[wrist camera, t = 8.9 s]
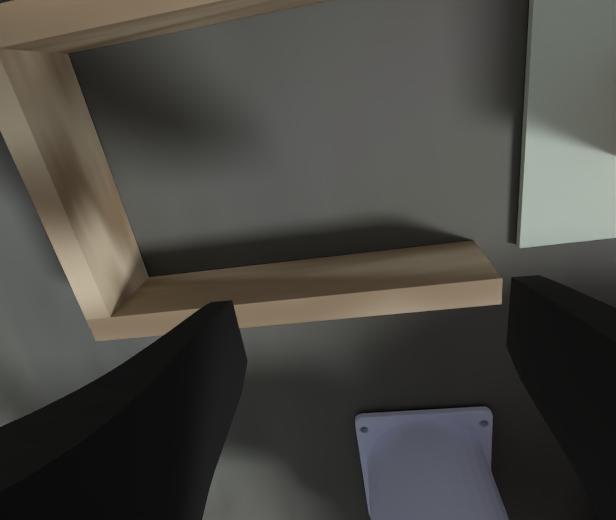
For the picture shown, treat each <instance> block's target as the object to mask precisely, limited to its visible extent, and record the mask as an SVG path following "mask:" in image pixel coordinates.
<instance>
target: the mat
mask: <svg viewBox="0 0 616 520" xmlns="http://www.w3.org/2000/svg"><path fill="white" fill-rule="evenodd" d="M609 238H616V0H529V18H528V37H527V56H526V74H525V93H524V111H523V130H522V148H521V167H520V186H519V204H518V223H517V241H516V245H517V246H518V247H519V248H526V247H535V246H544V245H554V244H563V243H572V242H581V241H590V240H599V239H609Z"/></svg>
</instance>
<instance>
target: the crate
mask: <svg viewBox="0 0 616 520" xmlns="http://www.w3.org/2000/svg"><path fill="white" fill-rule="evenodd" d="M324 1H329V0H13V1H9V2H5V3H0V131H1V133H2V136H3V138H4V140H5V142H6V144H7V147H8V149H9V151H10V153H11V155H12V158H13V160H14V162H15V164H16V166H17V169H18V171H19V173H20V175H21V177H22V180H23V182H24V184H25V186H26V188H27V191H28V193H29V195H30V197H31V199H32V202H33V204H34V206H35V208H36V210H37V213H38V215H39V217H40V219H41V221H42V224H43V226H44V228H45V230H46V232H47V235H48V237H49V239H50V241H51V243H52V246H53V248H54V250H55V252H56V254H57V257H58V259H59V261H60V263H61V265H62V268H63V270H64V272H65V274H66V276H67V279H68V281H69V283H70V285H71V287H72V290H73V292H74V294H75V296H76V298H77V301H78V303H79V305H80V307H81V309H82V312H83V314H84V316H85V318H86V320H87V323H88V325H89V327H90V329H91V331H92V334H93V336H94V338H95V340H96V341H104V340H114V339H125V338H136V337H147V336H158V335H165V334H166V333H167V332H169V331H170V330H171V329H173V328H174V327H176V326H177V325H178V324H180V323H181V322H182V321H184V320H185V319H186V318H188V317H189V316H190V315H192V314H193V313H195V312H196V311H197V310H199V309H200V308H202V307H203V306H205V305H206V304H208V303H210V302H216V301H228V300H232V301H233V305H234V309H235V313H236V317H237V321H238V325H239V328H246V327H257V326H268V325H279V324H290V323H301V322H312V321H323V320H334V319H345V318H356V317H366V316H377V315H388V314H399V313H410V312H421V311H432V310H443V309H454V308H465V307H476V306H487V305H498V304H502V283H503V278H502V277H501V275H500V274H499V273H498V271H497V270H496V269H495V268H494V266H493V265H492V264H491V262H490V261H489V260H488V259H487V257H486V256H485V255H484V253H483V252H482V251H481V250H480V248H479V247H478V246H477V244H476V243H475V242H474V241H473V240H472V241H463V242H454V243H446V244H437V245H428V246H419V247H410V248H402V249H393V250H384V251H375V252H366V253H358V254H349V255H340V256H331V257H322V258H314V259H305V260H296V261H287V262H278V263H270V264H261V265H252V266H243V267H234V268H226V269H217V270H208V271H199V272H190V273H182V274H173V275H164V276H155V277H149V276H148V274H147V271H146V268H145V265H144V263H143V260H142V257H141V254H140V252H139V249H138V246H137V243H136V240H135V238H134V235H133V232H132V229H131V227H130V224H129V221H128V218H127V216H126V213H125V210H124V207H123V204H122V202H121V199H120V196H119V193H118V191H117V188H116V185H115V182H114V180H113V177H112V174H111V171H110V169H109V166H108V163H107V160H106V157H105V155H104V152H103V149H102V146H101V144H100V141H99V138H98V135H97V133H96V130H95V127H94V124H93V122H92V119H91V116H90V113H89V110H88V108H87V105H86V102H85V99H84V97H83V94H82V91H81V88H80V86H79V83H78V80H77V77H76V74H75V72H74V69H73V66H72V63H71V61H70V58H69V55H68V54H70V53H75V52H80V51H84V50H89V49H94V48H99V47H104V46H109V45H114V44H119V43H124V42H129V41H133V40H138V39H143V38H148V37H153V36H158V35H163V34H168V33H173V32H177V31H182V30H187V29H192V28H197V27H202V26H207V25H212V24H217V23H221V22H226V21H231V20H236V19H241V18H246V17H251V16H256V15H261V14H266V13H270V12H275V11H280V10H285V9H290V8H295V7H300V6H305V5H310V4H314V3H319V2H324Z"/></svg>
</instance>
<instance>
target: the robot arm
mask: <svg viewBox="0 0 616 520" xmlns="http://www.w3.org/2000/svg"><path fill="white" fill-rule="evenodd" d="M506 346H507V348H508V351H509V353H510V356H511V358H512V360H513V363H514V365H515V368H516V370H517V372H518V374H519V377H520V379H521V381H522V383H523V384H524V386H525V388H526V390H527V391H528V393H529V395H530V396H531V398H532V400H533V401H534V403H535V405H536V407H537V408H538V410H539V412H540V413H541V415H542V416H543V418H544V420H545V421H546V423H547V425H548V426H549V428H550V430H551V431H552V433H553V435H554V436H555V438H556V440H557V441H558V443H559V445H560V446H561V448H562V450H563V451H564V453H565V455H566V456H567V458H568V460H569V461H570V463H571V465H572V467H573V468H574V470H575V472H576V474H577V476H578V478H579V479H580V481H581V483H582V485H583V487H584V489H585V491H586V494H587V496H588V498H589V500H590V502H591V504H592V506H593V508H594V510H595V512H596V515H597V517H598V519H599V520H616V308H614V307H612V306H610V305H607V304H605V303H603V302H601V301H598V300H596V299H594V298H592V297H589V296H587V295H585V294H583V293H580V292H578V291H576V290H574V289H571V288H569V287H567V286H564V285H562V284H560V283H557V282H555V281H552V280H550V279H547V278H545V277H541V276H538V275H536V276H523V277H512V278H511V291H510V304H509V317H508V331H507V344H506ZM246 366H247V357H246V353H245V349H244V345H243V341H242V337H241V333H240V329H239V325H238V321H237V317H236V313H235V309H234V305H233V301H232V300H228V301H216V302H210V303H208V304H206V305H205V306H203V307H202V308H200V309H199V310H197V311H196V312H195V313H193V314H192V315H190V316H189V317H188V318H186V319H185V320H184V321H182V322H181V323H180V324H178V325H177V326H176V327H174V328H173V329H171V330H170V331H169V332H167V333H166V334H165V335H163V336H162V337H161V338H159V339H158V340H156V341H155V342H154V343H152V344H151V345H149V346H148V347H146V348H145V349H143V350H142V351H140V352H139V353H137V354H136V355H135V356H133V357H132V358H130V359H129V360H127V361H126V362H124V363H123V364H121V365H120V366H118V367H116V368H115V369H113V370H112V371H110V372H108V373H107V374H105V375H103V376H102V377H100V378H98V379H96V380H95V381H93V382H91V383H89V384H88V385H86V386H84V387H82V388H80V389H79V390H77V391H75V392H73V393H71V394H69V395H67V396H65V397H63V398H61V399H59V400H57V401H55V402H53V403H51V404H49V405H47V406H45V407H43V408H41V409H39V410H37V411H35V412H33V413H31V414H29V415H26V416H24V417H22V418H20V419H17V420H15V421H13V422H11V423H8V424H6V425H4V426H1V427H0V520H202V517H203V513H204V509H205V505H206V500H207V496H208V492H209V488H210V485H211V481H212V478H213V475H214V471H215V468H216V466H217V463H218V460H219V457H220V454H221V451H222V448H223V445H224V442H225V440H226V437H227V434H228V431H229V428H230V425H231V422H232V419H233V416H234V413H235V411H236V408H237V405H238V402H239V399H240V395H241V392H242V387H243V382H244V377H245V371H246ZM481 421H483V422H481ZM355 427H356V433H357V440H358V447H359V453H360V460H361V466H362V473H363V479H364V486H365V492H366V499H367V505H368V512H369V516H370V517H371V520H509V518H508V515H507V513H506V510H505V507H504V505H503V502H502V499H501V496H500V494H499V491H498V488H497V486H496V483H495V480H494V477H493V475H492V472H491V455H492V427H493V415H492V412H491V410H490V409H489V408H487V407H465V408H448V409H430V410H413V411H395V412H378V413H362V414H358V415H357V416H356V417H355ZM362 427H366V428H362Z"/></svg>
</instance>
